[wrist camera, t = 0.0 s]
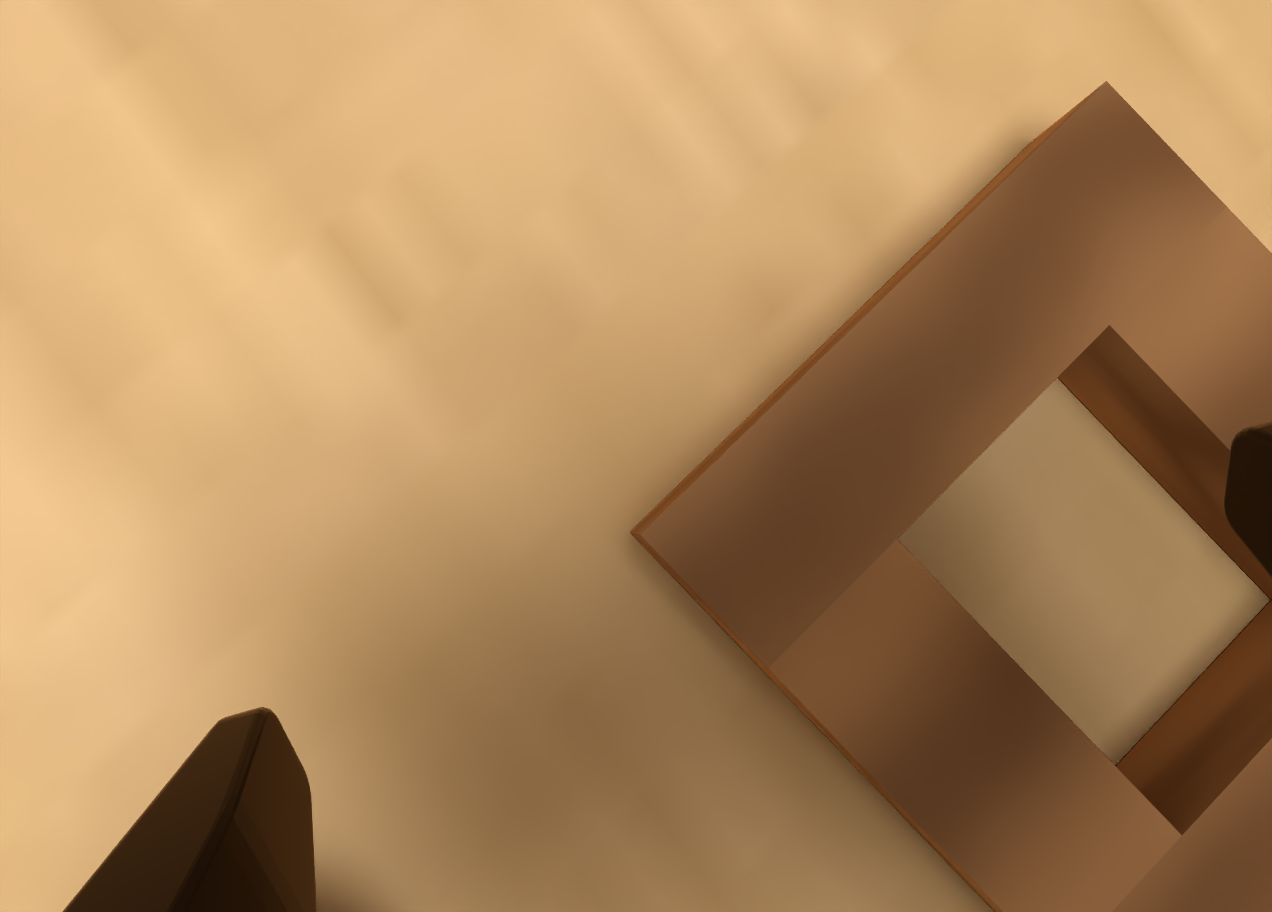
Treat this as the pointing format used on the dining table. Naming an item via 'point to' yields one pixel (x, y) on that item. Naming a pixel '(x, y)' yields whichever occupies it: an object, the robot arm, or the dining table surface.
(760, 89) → the dining table surface
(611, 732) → the dining table surface
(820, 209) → the dining table surface
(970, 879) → the well block
